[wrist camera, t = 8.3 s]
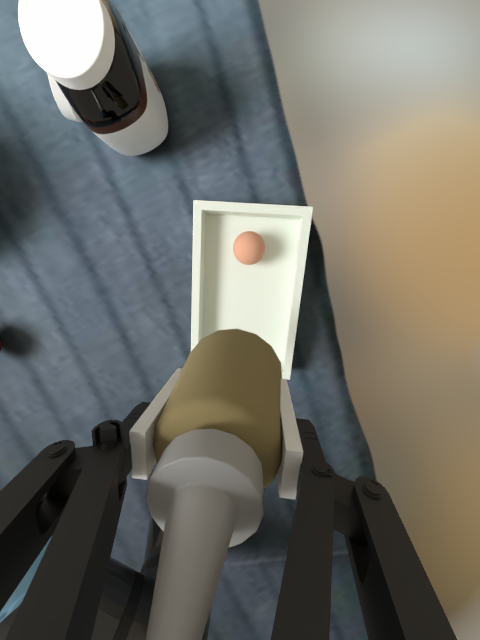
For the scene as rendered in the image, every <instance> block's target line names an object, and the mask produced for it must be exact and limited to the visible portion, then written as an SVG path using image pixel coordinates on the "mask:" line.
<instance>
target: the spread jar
mask: <svg viewBox="0 0 480 640" xmlns="http://www.w3.org/2000/svg"><path fill="white" fill-rule="evenodd" d="M18 19H19V26H20V31H21V35H22V38H23V40H24V43H25V45H26V47H27V49H28V51H29V53H30V55H31V56H32V57H33V59H34V60H35V62H36V63H37V64H38V65H39V66H40V67H41V68H42V69H44V70H45V71H46V72H47V74H48V78H49V82H50V86H51V89H52V93H53V96H54V98H55V101H56V103H57V105H58V107H59V109H60V111H61V112H62V114H63V115H64V116H65V117H66V118H67V119H70V120H74V121H78V122H84V123H85V125H86V126H87V127H88V128H89V129H90V130H91V131H92V132H93V133H94V134H95V135H96V136H98V137H99V138H100V139H101V140H102V141H104V142H105V143H106V144H108V145H109V146H110V147H111V148H113V149H114V150H115V151H117V152H119V153H121V154H122V155H126V156H137V155H141V154H145V153H148V152H150V151H152V150H154V149H155V148H157V147H158V146H159V145H160V144H162V142H163V141H164V140H165V139H166V137H167V134H168V115H167V110H166V106H165V102H164V100H163V97H162V94H161V91H160V89H159V87H158V85H157V82H156V80H155V78H154V76H153V74H152V72H151V70H150V68H149V66H148V64H147V62H146V60H145V58H144V56H143V55H142V53H141V51H140V49H139V47H138V45H137V44H136V42H135V40H134V38H133V37H132V35H131V33H130V31H129V29H128V28H127V26H126V24H125V22H124V21H123V19H122V17H121V16H120V14H119V12H118V11H117V9H116V8H115V6H114V5H113V4H112V3H111V1H110V0H19V5H18Z"/></svg>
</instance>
